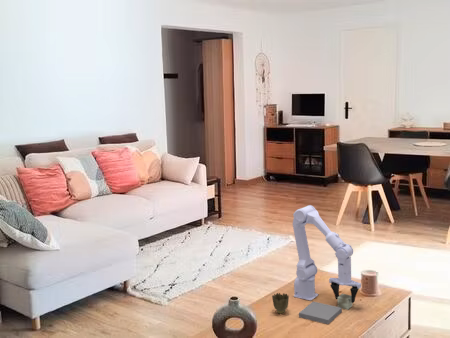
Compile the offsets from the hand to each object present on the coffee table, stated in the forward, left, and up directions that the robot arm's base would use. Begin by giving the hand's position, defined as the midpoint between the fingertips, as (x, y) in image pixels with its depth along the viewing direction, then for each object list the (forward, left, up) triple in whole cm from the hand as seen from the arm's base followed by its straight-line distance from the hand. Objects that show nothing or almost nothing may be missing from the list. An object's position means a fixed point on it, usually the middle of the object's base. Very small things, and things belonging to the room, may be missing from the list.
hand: (345, 300), depth 236 cm
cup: (-22, -20, -3) cm, 30 cm away
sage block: (0, 0, -3) cm, 3 cm away
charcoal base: (-6, -13, -3) cm, 15 cm away
